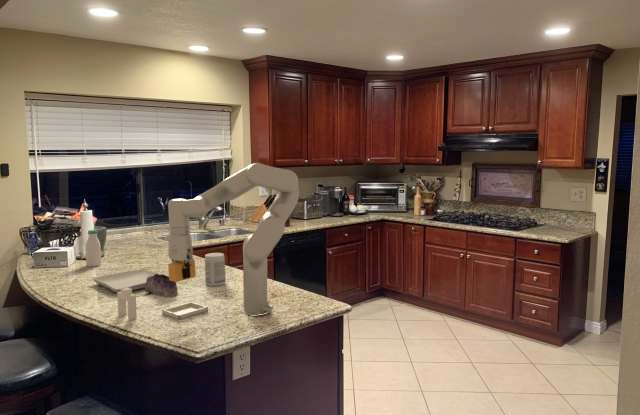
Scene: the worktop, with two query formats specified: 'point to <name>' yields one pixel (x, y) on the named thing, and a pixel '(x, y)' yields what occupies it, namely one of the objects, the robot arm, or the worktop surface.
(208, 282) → the supplement tub
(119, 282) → the square plate
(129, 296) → the beige blocky piece
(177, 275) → the orange block
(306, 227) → the worktop surface
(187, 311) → the tray
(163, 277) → the geode
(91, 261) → the milk bottle
